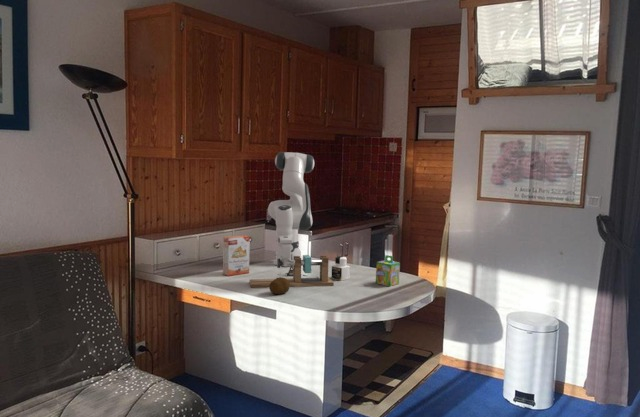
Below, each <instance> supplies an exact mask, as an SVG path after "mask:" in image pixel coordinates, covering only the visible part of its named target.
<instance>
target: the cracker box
mask: <svg viewBox="0 0 640 417" xmlns="http://www.w3.org/2000/svg"><path fill="white" fill-rule="evenodd" d="M250 238H251V237H250V236H248V235H245V234H244V235H233V236H224V237H222V239H223V240H222V242H223V244H222V247H223V248H222V250H223V251H222V275H224V276H227V277H231V276H237V275H238V276H239V275H245V274H249V273H250V251H251V250H250V247H251V246H250V245H251V244H250V242H251V239H250Z"/></svg>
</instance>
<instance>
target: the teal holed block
mask: <svg viewBox="0 0 640 417" xmlns="http://www.w3.org/2000/svg"><path fill="white" fill-rule="evenodd" d="M302 260H305V266H302V271H303V273H304V274H312V265H311V260H312V257H311V256H310V255H309V254H303V255H302Z"/></svg>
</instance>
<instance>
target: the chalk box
mask: <svg viewBox="0 0 640 417" xmlns="http://www.w3.org/2000/svg"><path fill="white" fill-rule="evenodd" d="M388 258H389V259H390V260H389V259H388ZM375 267H376V268H375V269H376V272H375V284H377V285H382V286H386V287H392V286H395V285H398V284H400V274H401V273H400V271H401V270H400V269H401V263H400V262H399V261H394V256H393V255H387V254H386V255H385V257H384V260H380V261H376V266H375Z"/></svg>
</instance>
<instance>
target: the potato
mask: <svg viewBox="0 0 640 417" xmlns="http://www.w3.org/2000/svg"><path fill="white" fill-rule="evenodd" d="M274 279H275V280H273V281H272V282H271V283H270V286H269V287H268V288H269V291H270V293H271V294H273V295H281V294H285V293H287V292H289V290H290V288H291V287H290V282H289V281H288V280H287V279H288V278H285V277H281V276H280V277H276V278H274Z"/></svg>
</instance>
